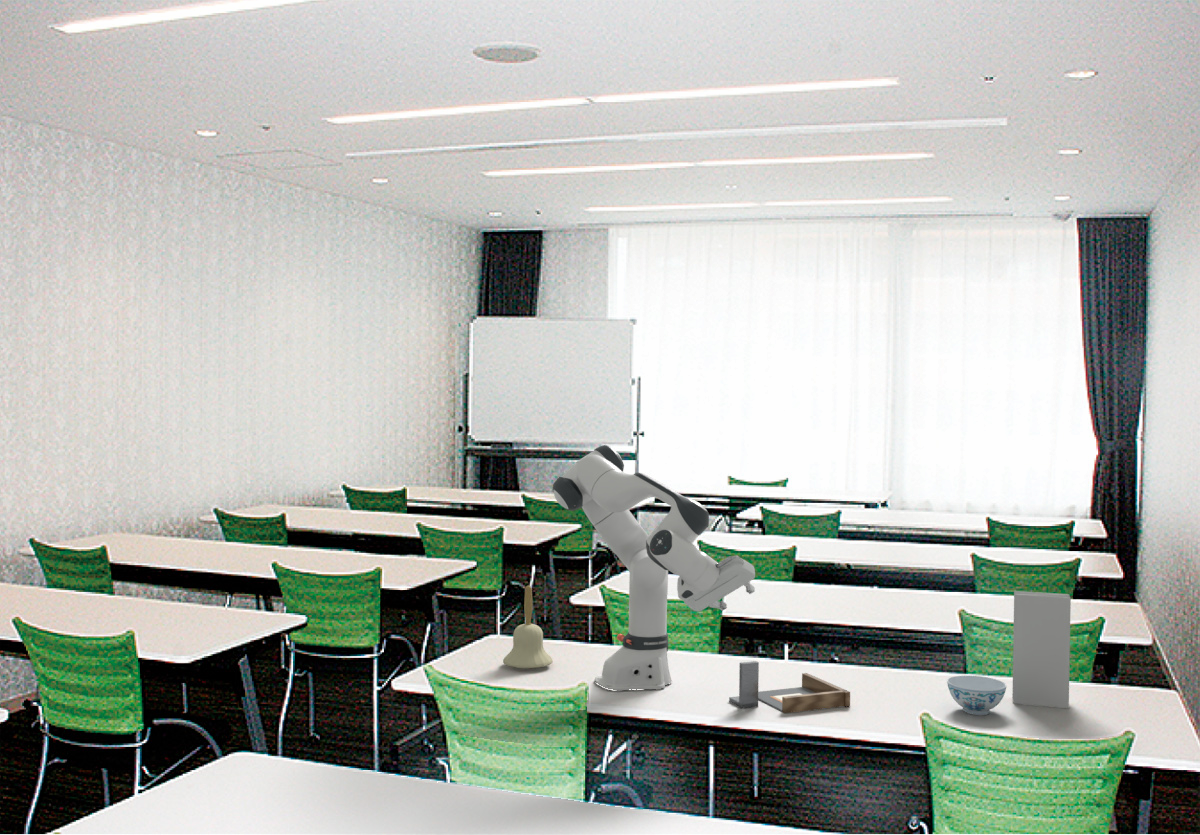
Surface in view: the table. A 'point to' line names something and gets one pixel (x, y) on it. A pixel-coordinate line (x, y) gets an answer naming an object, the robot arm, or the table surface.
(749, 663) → the bracket
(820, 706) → the brown wooden corner frame
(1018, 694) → the tall grey block
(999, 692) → the chinaware
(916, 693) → the table surface
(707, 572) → the robot arm
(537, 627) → the handbell
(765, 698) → the mat
